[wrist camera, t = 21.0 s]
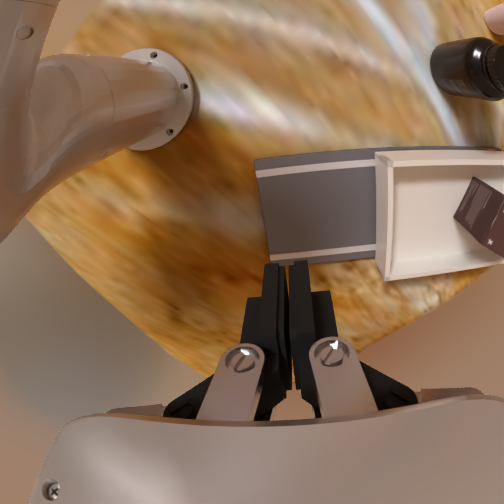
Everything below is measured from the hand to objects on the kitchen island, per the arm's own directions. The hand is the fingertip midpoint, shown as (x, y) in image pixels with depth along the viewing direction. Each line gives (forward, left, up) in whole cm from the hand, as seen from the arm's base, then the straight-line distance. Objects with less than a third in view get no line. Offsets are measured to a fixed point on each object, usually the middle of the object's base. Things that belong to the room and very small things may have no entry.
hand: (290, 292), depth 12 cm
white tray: (+20, -7, -24) cm, 32 cm away
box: (+24, -7, -22) cm, 33 cm away
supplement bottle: (+22, +10, -25) cm, 35 cm away
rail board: (+13, -7, -25) cm, 29 cm away
